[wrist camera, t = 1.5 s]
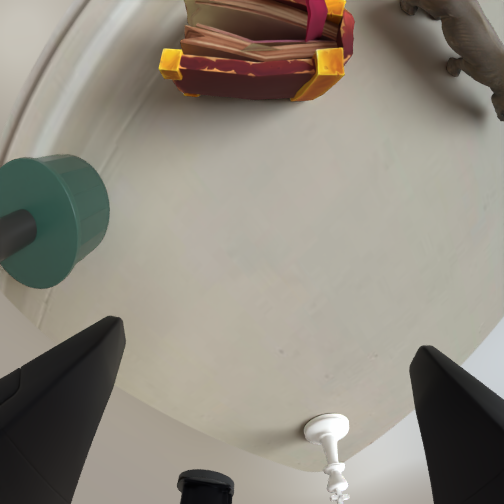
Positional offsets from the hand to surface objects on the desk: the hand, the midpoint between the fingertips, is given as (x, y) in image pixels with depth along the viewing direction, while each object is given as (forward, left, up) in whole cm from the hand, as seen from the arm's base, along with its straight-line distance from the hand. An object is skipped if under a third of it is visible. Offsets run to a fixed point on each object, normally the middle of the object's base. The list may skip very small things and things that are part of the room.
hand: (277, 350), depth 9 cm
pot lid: (-16, -2, -10) cm, 18 cm away
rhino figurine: (+12, +16, -15) cm, 25 cm away
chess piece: (+11, -20, -15) cm, 28 cm away
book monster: (-3, +13, -15) cm, 20 cm away
